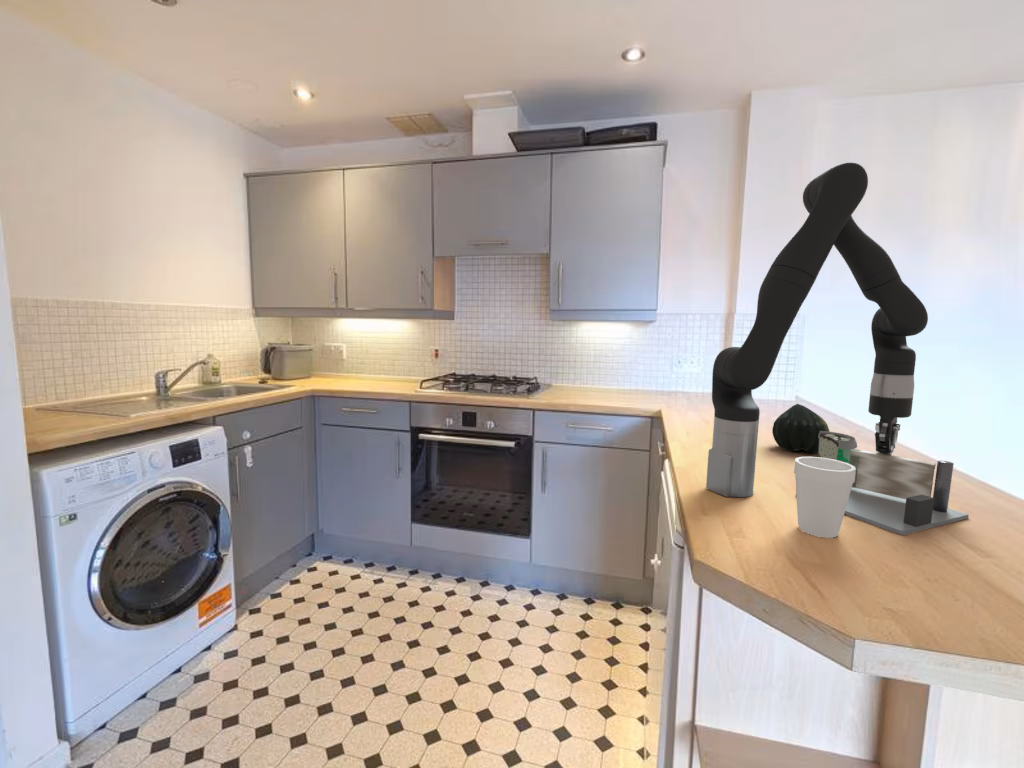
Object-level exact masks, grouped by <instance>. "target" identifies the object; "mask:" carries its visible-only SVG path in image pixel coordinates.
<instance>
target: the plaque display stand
mask: <svg viewBox="0 0 1024 768" xmlns="http://www.w3.org/2000/svg"><path fill="white" fill-rule="evenodd" d="M953 470H954V462H952V461H947V460H937V462H936V470H935V479H934V484H933V485H934V486H933V493H932V496H931V497H929V496H925V495H917V496H913V497H908V498H906V499H902V498H898V497H893V496H889V495H885V494H880V493H876V492H872V491H867V490H863V489H859V488H853V487H852V488H851V492H850V495H849V499H848V502H847V506H846V509H845V513H844V515H845V514H846V515H845V516H848V515H849V516H848V517H850V518H853V517H854V518H853V519H856V518H857V520H859V519H860V520H859V521H862V522H864V521H865V523H867V524H870V525H873V526H876V527H879V528H882V529H884V530H887V531H889V532H892V533H894V534H898V535H900V536H905V535H908V534H913V533H917V532H921V531H924V530H928V529H932V528H937V527H941V526H943V525H948V524H951V523H952V524H953V523H956V522H958V521H963V520H967V519H969V516H970V514H969V513H966V512H962V511H959V510H955V509H952V508H949V501H950V492H951V487H952V485H951V484H952V476H953Z"/></svg>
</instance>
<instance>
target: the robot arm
mask: <svg viewBox="0 0 1024 768" xmlns="http://www.w3.org/2000/svg"><path fill="white" fill-rule="evenodd" d="M868 177H869V176H868V173H867V171H866V169H865V168H864V166H862V165H861V164H860V163H856V162H843V163H841V164H838V165H834V166H833V167H831V168H830V169H827V170H826V171H824V172H822V173H821V174H819V175H817V176H816V177H815V178H813V179H812V180H810V182H809V183H807V185H806V187H805V188H804V190H803V193H802V202H803V203H802V204H803V206H804V208H805V209H806V211H807V213H808V216H807V218H806V220H805V221H804V222H803V224H802V225H801V227H800V228H799V230H798V231H796V233H795V234H794V235H793V237H792V238H790V240H789V241H788V242H787V243H786V245H785V246H784V247H783V248H782V250H780V252H779V253H778V255H777V256H776V258H775V259H774V261H772V264H771V265H770V268H769V269H768V271H767V274H766V275H765V277H764V278H763V281H762V283H761V285H760V288H759V291H758V297H757V304H756V305H757V306H756V317H755V321H754V323H753V325H752V328H751V330H750V331H749V334H748V335H747V337H746V339H745V341H744V342H743V344H742V345H741V346H740V347H739V346H730V347H727V348H724V349H722V350H721V351H720V352H719V353H718V354H717V356H716V358H715V359H714V363H713V365H712V367H713V368H712V384H711V400H712V405H713V408H714V417H713V431H712V432H713V433H712V441H711V442H712V443H711V446H712V447H711V448H710V449H708V457H707V470H706V483H705V485H706V486H705V489H707V490H709V491H711V492H714V493H716V494H719V495H722V496H723V497H726V498H729V497H730V498H731V497H732V498H733V497H734V498H746V497H751V496H752V495H753V494H754V486H755V473H756V471H755V470H756V458H757V448H758V435H759V426H760V425H759V424H760V415H761V413H760V407H759V406H758V405H757V403H756V402H755V401H754V397H753V395H752V391H753V390H756V389H759V388H760V387H762V385H764V384H765V383H766V381H767V380H768V378H769V377H770V375H771V373H772V371H773V368H774V367H775V366H774V365H775V363H776V360H777V358H778V355H779V353H780V351H781V348H782V345H783V343H784V341H785V338H786V336H787V334H788V332H789V331H790V328H791V326H792V325H793V322H794V320H795V318H796V317H797V314H798V312H799V311H800V310H801V307H802V305H803V303H804V302H805V300H806V299H807V296H808V295H809V293H810V291H811V289H812V288H813V286H814V283H815V282H816V280H817V277H818V276H819V274H820V271H821V269H822V268H823V265H824V264H825V262H826V260H827V258H828V256H829V254H830V253H831V251H832V249H833V246H834V248H836V250H837V251H838V253H839V254H840V255H841V257H842V258H843V260H844V262H845V263H846V265H847V267H848V269H849V270H850V272H851V273H852V276H853V277H854V280H855V281H856V283H857V285H858V287H859V289H860V290H861V291H860V292H861V293H862V295H863V296H864V297H865V299H867V300H868V301H870V302H874V303H875V304H877V305H878V307H879V309H877V310H875V313H874V314H873V316H872V320H871V325H870V326H871V336H872V342H873V343H872V344H873V348H874V351H875V353H874V354H875V357H874V365H873V375H872V378H871V383H870V390H869V391H870V392H869V399H868V400H869V402H868V413H870V414H871V415H874V416H879V420H878V421H877V422H875V425H874V430H875V433H874V437H875V452H876V453H881V454H886V455H892V454H893V453H894V452H895V451H894V450H895V448H896V443H897V442H898V435H899V431H900V430H901V423H898V419H901V418H902V419H906V418H909V417H912V411H913V410H912V409H913V404H914V403H913V402H914V392H915V369H916V361H917V360H916V359H917V357H916V356H917V355H916V354H917V353H916V351H915V350H914V349H913V348H912V347H911V348H910V347H909V346H908V345H907V337H911V336H917V335H919V334H920V333H922V332H923V331H924V330H925V329H926V328H927V325H928V320H929V316H928V312H927V309H926V306H925V305H924V303H923V302H922V301H921V300H920V298H919V297H918V296H917V295H916V294H915V293H914V292H913V291H912V289H910V287H909V286H908V285H906V283H905V282H904V281H903V280H902V278H901V275H900V273H899V271H898V269H897V268H896V266H895V264H894V262H893V260H892V258H891V256H890V255H889V253H887V251H886V250H885V249H884V248H883V247H882V246H881V245H880V244H879V243H878V242H876V241H875V240H874V239H873V238H871V236H869V235H868V234H867V233H865V231H863V230H862V229H861V227H860V226H859V225H858V224H857V223H856V221H855V219H854V218H853V216H852V215H853V213H854V212H855V211H856V209H857V208H858V206H859V205H860V204H861V202H862V201H863V198H864V197H865V195H866V194H867V193H866V192H867V190H868V186H869V185H868V183H869V178H868ZM892 456H893V455H892Z"/></svg>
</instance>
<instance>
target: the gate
mask: <svg viewBox="0 0 1024 768" xmlns="http://www.w3.org/2000/svg"><path fill="white" fill-rule="evenodd" d="M849 464H851V465H853V466H855V468H856V473H855V482H854V483H853V484H852V487H853V488H859V489H863V490H867V491H872V492H876V493H880V494H885V495H889V496H893V497H898V498H902V499H906V498H908V497H913V496H917V495H925V496H929V497H932V494H933V493H932V492H933V491H932V490H933V485H934V484H933V483H934V476H935V471H936V470H935V469H936V466H937V462H932V461H926V460H925V461H924V460H920V459H919V460H918V459H914V458H908V457H903V456H897V455H886V454H881V453H877V452H876V451H867V450H864V449H859V448H858V449H857V448H855V449H852V450H850V462H849Z"/></svg>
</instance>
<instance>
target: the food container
mask: <svg viewBox="0 0 1024 768" xmlns="http://www.w3.org/2000/svg"><path fill="white" fill-rule="evenodd" d="M818 438H819V452H818V453H817V455H818V457H821V458H828V459H834V460H838V461H842V462H845V463H849V462H850V450H852V449H857V448H858V443H857V442H858V441H857V440H856V437H854V436H852V435H848V434H845V433H840V432H835V431H830V432H828V431H820V432H819V436H818Z"/></svg>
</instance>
